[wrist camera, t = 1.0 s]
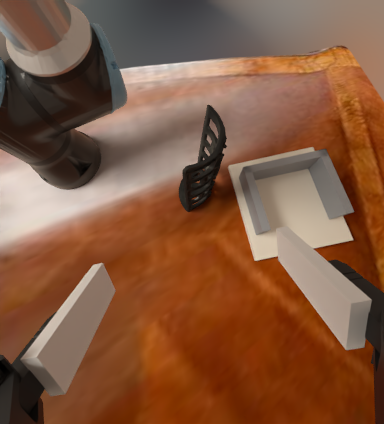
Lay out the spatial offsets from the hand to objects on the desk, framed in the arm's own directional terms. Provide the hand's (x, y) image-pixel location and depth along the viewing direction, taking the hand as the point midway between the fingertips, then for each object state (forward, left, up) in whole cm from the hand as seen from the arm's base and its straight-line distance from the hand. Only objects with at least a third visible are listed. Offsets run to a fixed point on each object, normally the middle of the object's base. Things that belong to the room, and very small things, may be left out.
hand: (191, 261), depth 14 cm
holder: (-16, +3, -27) cm, 31 cm away
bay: (-9, +21, -27) cm, 35 cm away
